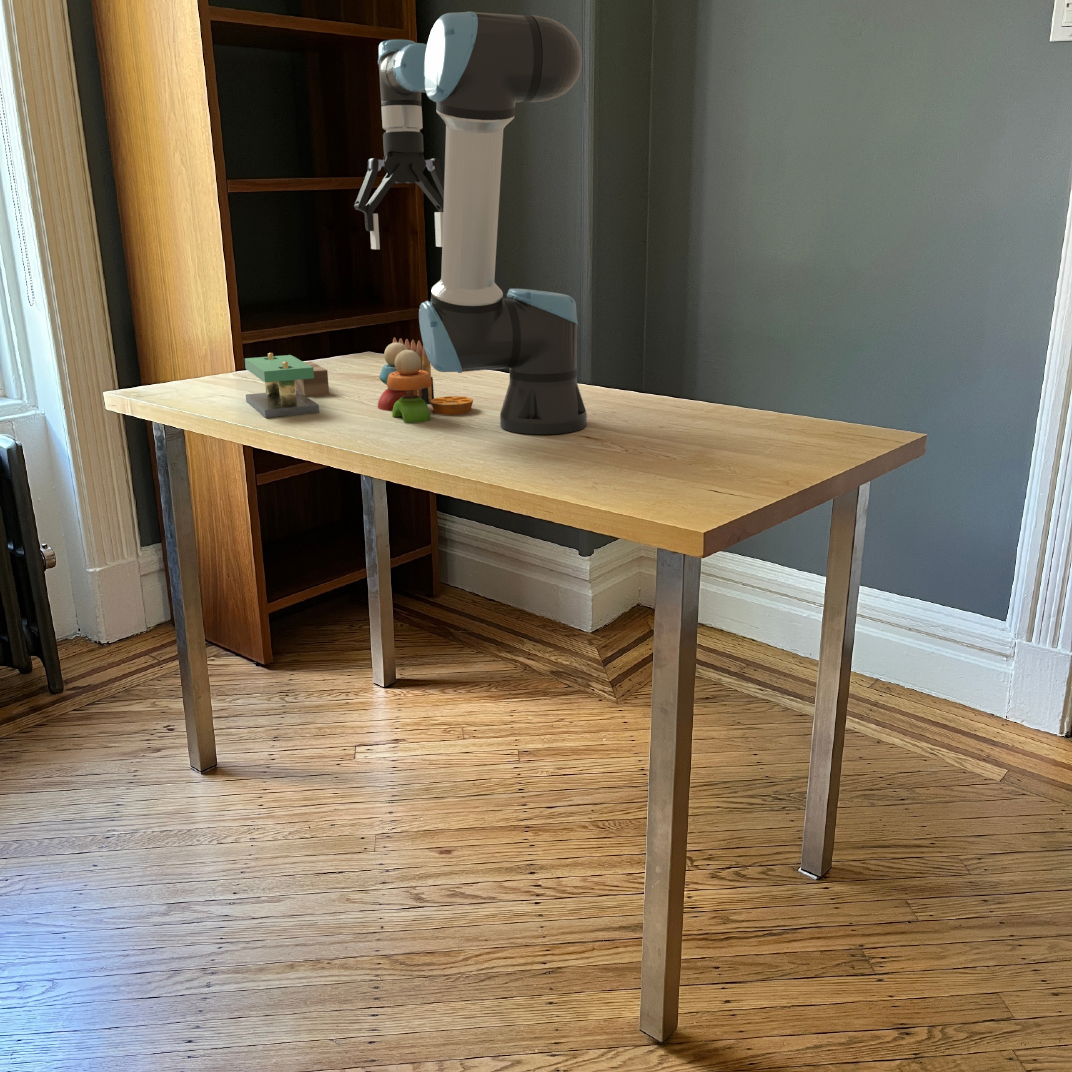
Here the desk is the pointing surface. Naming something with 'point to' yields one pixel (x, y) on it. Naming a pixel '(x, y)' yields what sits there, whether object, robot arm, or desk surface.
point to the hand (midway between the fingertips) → (408, 248)
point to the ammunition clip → (425, 393)
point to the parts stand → (314, 382)
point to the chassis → (281, 399)
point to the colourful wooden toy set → (413, 388)
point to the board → (279, 368)
